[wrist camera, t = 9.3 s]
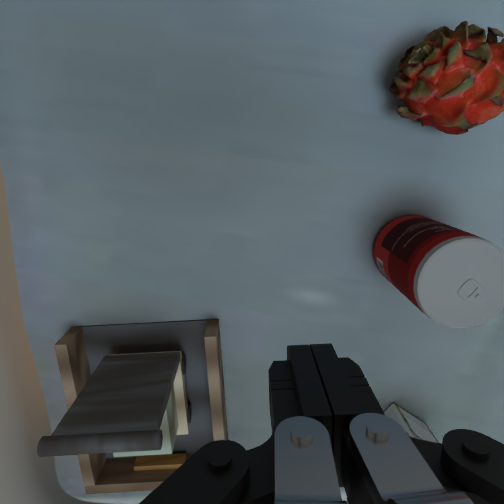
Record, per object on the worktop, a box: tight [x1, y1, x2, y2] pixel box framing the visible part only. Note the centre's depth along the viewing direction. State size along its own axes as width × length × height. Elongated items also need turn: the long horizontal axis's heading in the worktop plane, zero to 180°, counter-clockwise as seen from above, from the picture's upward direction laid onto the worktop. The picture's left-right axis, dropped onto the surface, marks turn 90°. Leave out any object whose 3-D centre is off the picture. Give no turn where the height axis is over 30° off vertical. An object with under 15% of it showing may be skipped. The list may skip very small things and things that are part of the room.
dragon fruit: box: [389, 21, 504, 135], centre depth 32 cm, size 8×8×12 cm
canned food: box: [374, 215, 504, 329], centre depth 35 cm, size 8×8×11 cm
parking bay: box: [54, 319, 228, 494], centre depth 42 cm, size 19×16×4 cm
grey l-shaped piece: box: [37, 351, 192, 457], centre depth 36 cm, size 11×9×15 cm
